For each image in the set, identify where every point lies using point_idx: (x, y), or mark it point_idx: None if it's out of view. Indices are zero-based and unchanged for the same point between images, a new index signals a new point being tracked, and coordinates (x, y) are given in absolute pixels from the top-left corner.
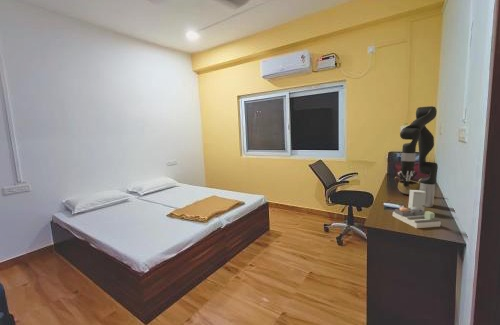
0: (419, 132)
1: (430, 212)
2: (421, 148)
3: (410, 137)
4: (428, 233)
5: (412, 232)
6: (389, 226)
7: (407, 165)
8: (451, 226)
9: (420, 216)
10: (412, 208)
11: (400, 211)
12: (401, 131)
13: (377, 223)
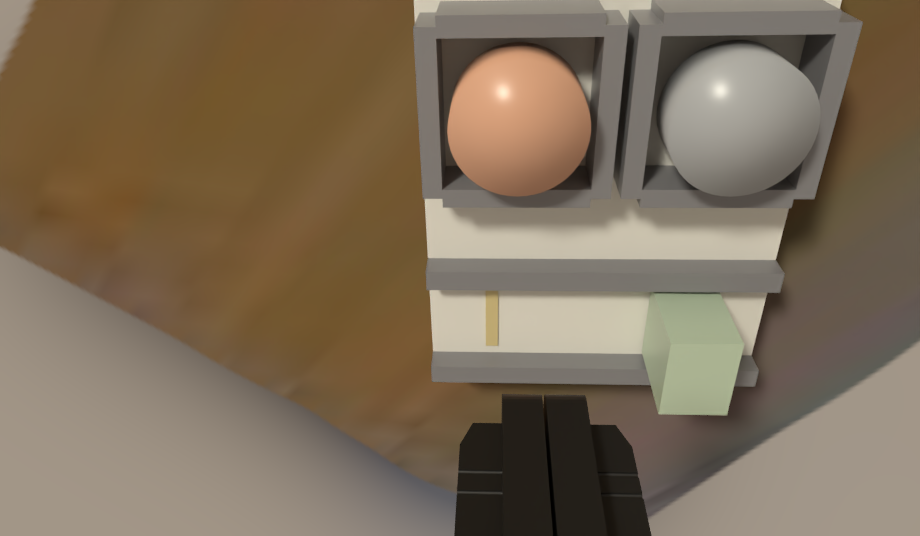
0: None
1: (708, 382)
2: None
3: None
4: (460, 434)
5: (332, 400)
6: (181, 262)
7: None
8: (841, 362)
9: (612, 283)
10: (669, 145)
11: (428, 144)
12: None
13: (74, 169)
